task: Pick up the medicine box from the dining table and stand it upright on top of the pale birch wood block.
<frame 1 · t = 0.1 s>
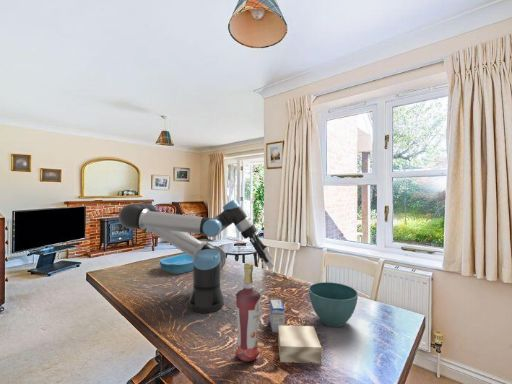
hand: (271, 263, 126), 15 cm above the table, tool tilted 35°, fingers open, 13 cm apart
plant pot: (332, 322, 100), on the table
birch block: (298, 351, 81), on the table
liquor: (247, 357, 77), on the table
medicine box: (276, 327, 95), on the table
casserole dish: (186, 268, 170), on the table
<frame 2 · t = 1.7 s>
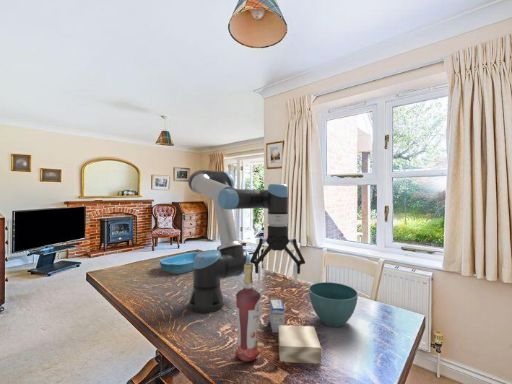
hand: (277, 282, 95), 17 cm above the table, tool pointing down, fingers open, 13 cm apart
nothing on the table moved.
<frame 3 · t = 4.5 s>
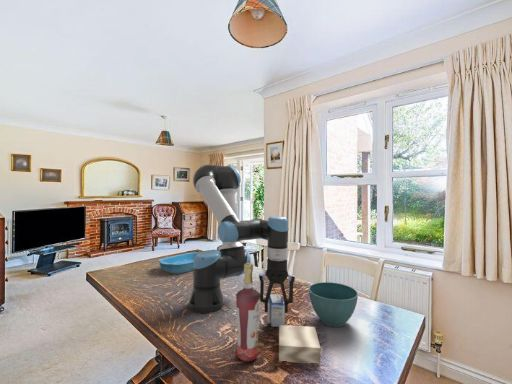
hand: (275, 320, 96), 2 cm above the table, tool pointing down, fingers closed on medicine box, 5 cm apart
medicine box: (275, 321, 96), point 2 cm above the table, touching gripper
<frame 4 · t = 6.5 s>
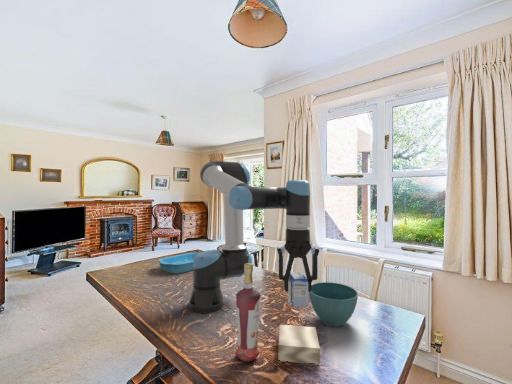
hand: (297, 301, 82), 15 cm above the table, tool pointing down, fingers closed on medicine box, 5 cm apart
medicine box: (297, 302, 82), point 15 cm above the table, touching gripper
everything else where it was.
when the fingers open (7 cm above the table, at t = 8.3 s): medicine box drops 2 cm, resting on birch block.
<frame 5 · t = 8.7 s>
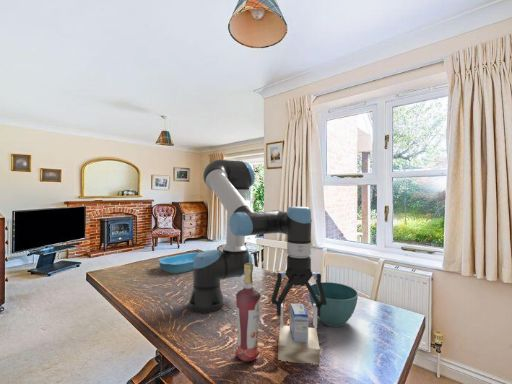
hand: (298, 325, 81), 8 cm above the table, tool pointing down, fingers open, 10 cm apart
birch block: (298, 352, 81), on the table, touching medicine box
medicine box: (298, 336, 81), point 4 cm above the table, touching birch block
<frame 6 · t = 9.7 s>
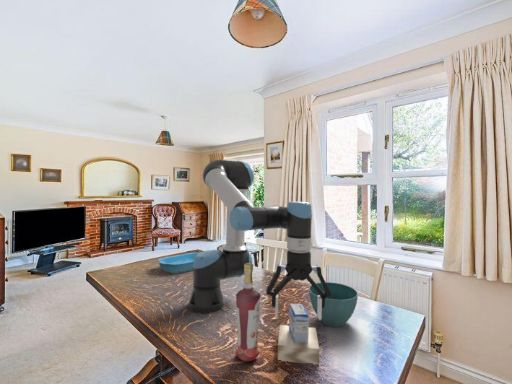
hand: (297, 317, 81), 10 cm above the table, tool pointing down, fingers open, 13 cm apart
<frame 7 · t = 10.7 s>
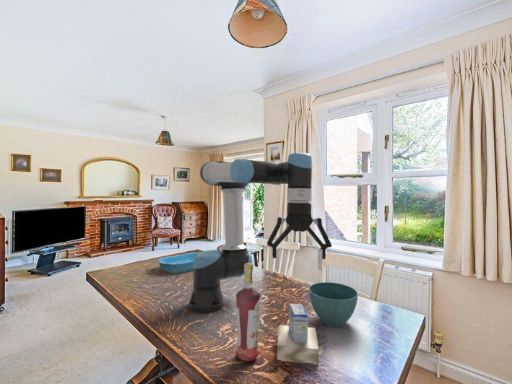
hand: (298, 268, 81), 26 cm above the table, tool pointing down, fingers open, 13 cm apart
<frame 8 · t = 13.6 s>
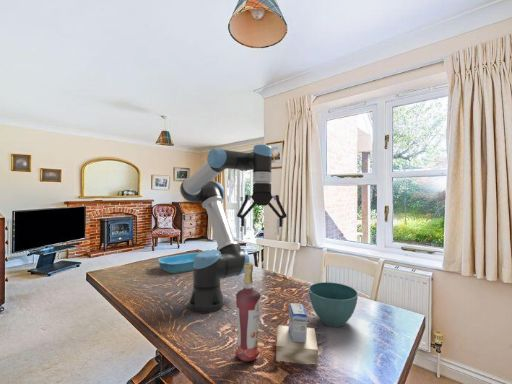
hand: (261, 234, 105), 33 cm above the table, tool pointing down, fingers open, 13 cm apart
birch block: (296, 352, 81), on the table
medicine box: (297, 336, 81), point 4 cm above the table
at the end: medicine box inside the target area on the birch block (0.4 cm from its centre), point 4.9 cm above the birch block's base; medicine box tilted 1°; the gripper is holding nothing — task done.
